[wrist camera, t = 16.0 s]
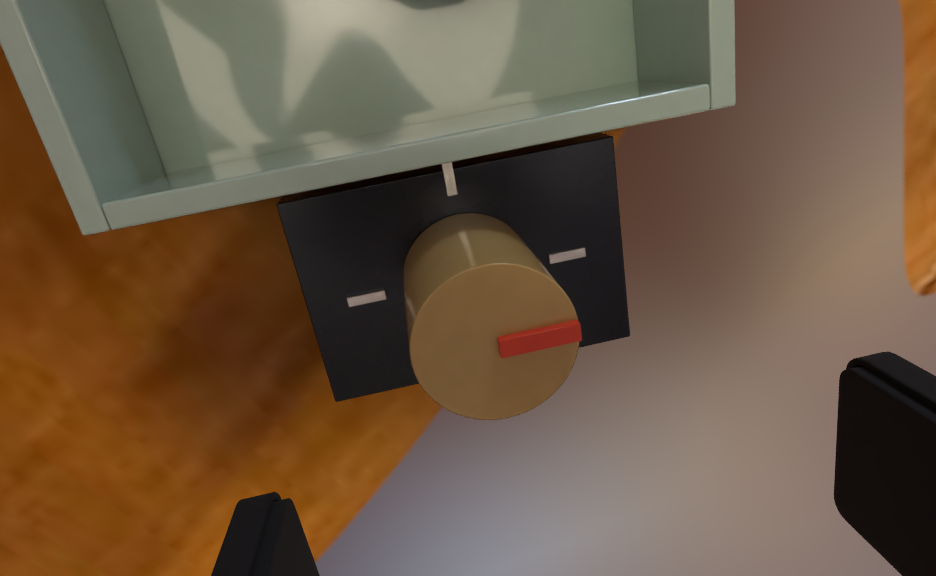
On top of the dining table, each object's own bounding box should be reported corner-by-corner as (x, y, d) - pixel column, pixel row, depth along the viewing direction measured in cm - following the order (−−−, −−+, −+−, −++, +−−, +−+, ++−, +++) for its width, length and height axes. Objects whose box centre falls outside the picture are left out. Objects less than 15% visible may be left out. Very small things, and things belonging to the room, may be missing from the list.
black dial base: (343, 376, 26) (338, 415, 23) (285, 175, 23) (270, 190, 20) (605, 318, 27) (633, 349, 24) (585, 115, 24) (613, 122, 21)
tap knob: (417, 347, 23) (429, 442, 17) (389, 227, 21) (392, 288, 15) (539, 320, 23) (592, 405, 17) (521, 200, 21) (573, 249, 15)
